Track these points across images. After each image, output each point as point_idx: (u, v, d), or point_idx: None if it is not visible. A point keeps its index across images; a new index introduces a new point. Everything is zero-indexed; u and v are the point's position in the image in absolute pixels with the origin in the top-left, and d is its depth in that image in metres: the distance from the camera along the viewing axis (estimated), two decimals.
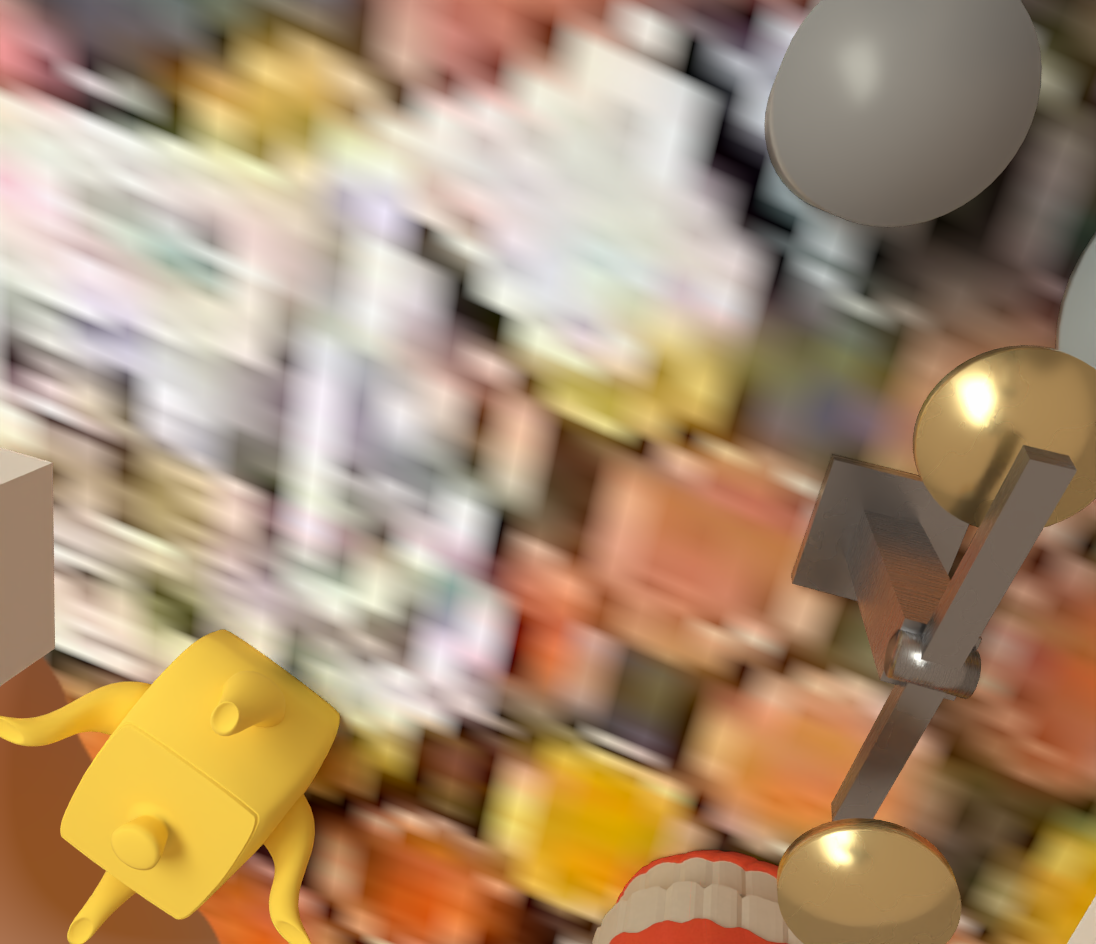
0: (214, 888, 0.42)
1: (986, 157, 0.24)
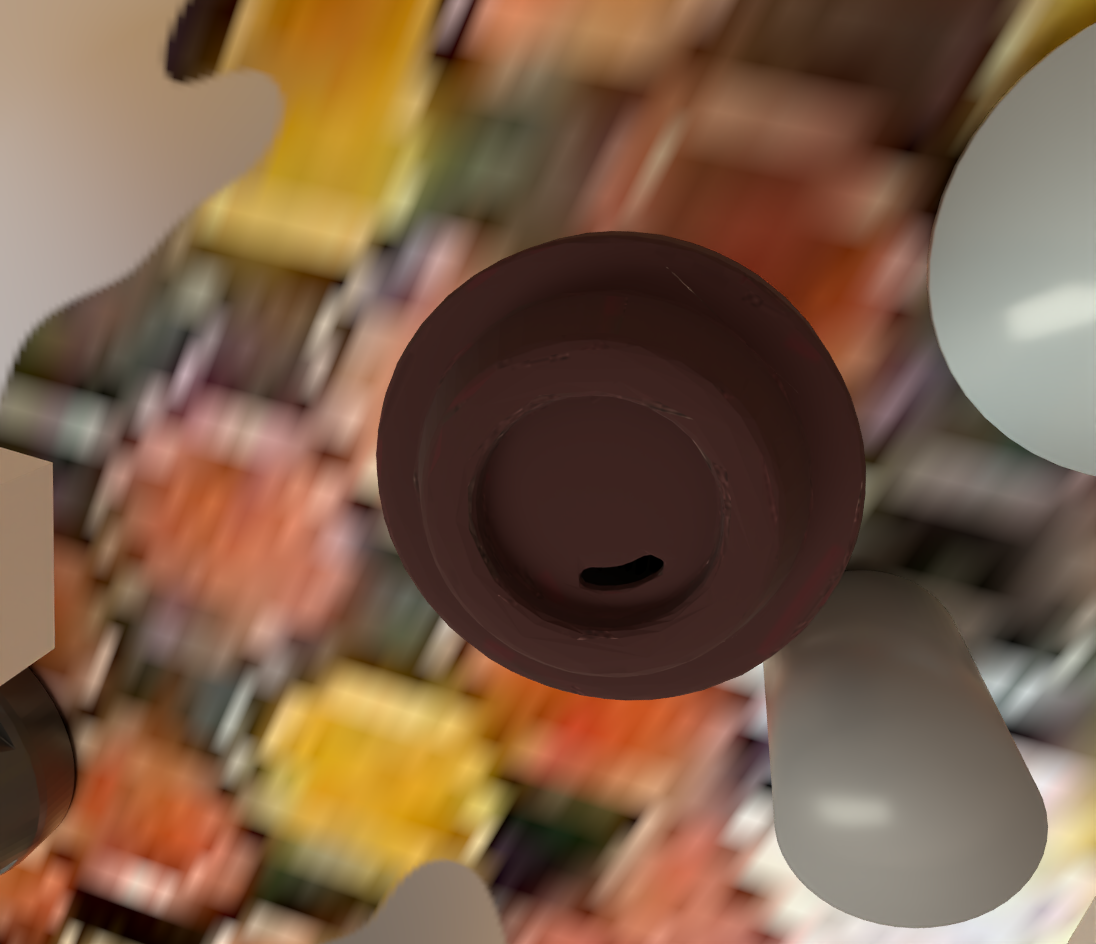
0: None
1: (984, 762, 0.22)
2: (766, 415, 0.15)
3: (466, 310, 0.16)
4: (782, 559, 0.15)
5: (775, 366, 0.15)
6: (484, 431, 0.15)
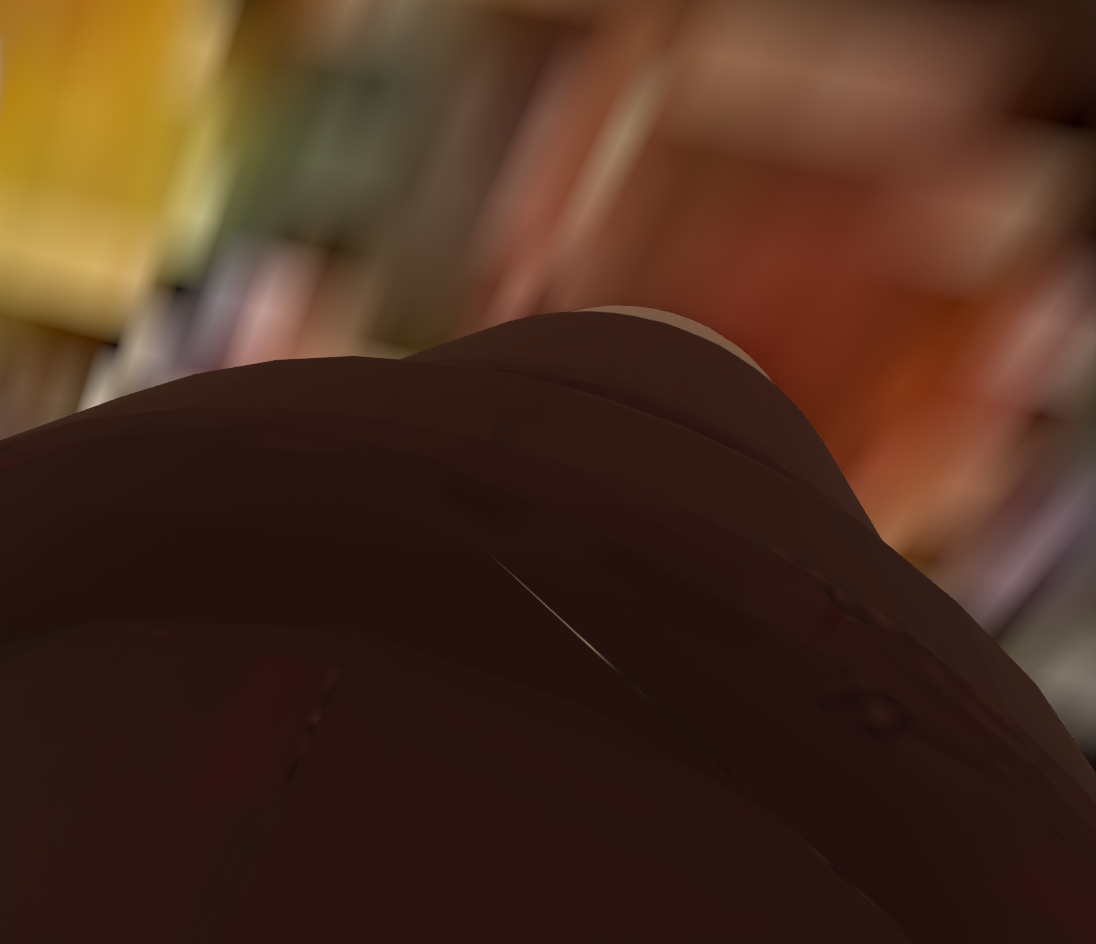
0: None
1: None
2: None
3: None
4: None
5: None
6: None
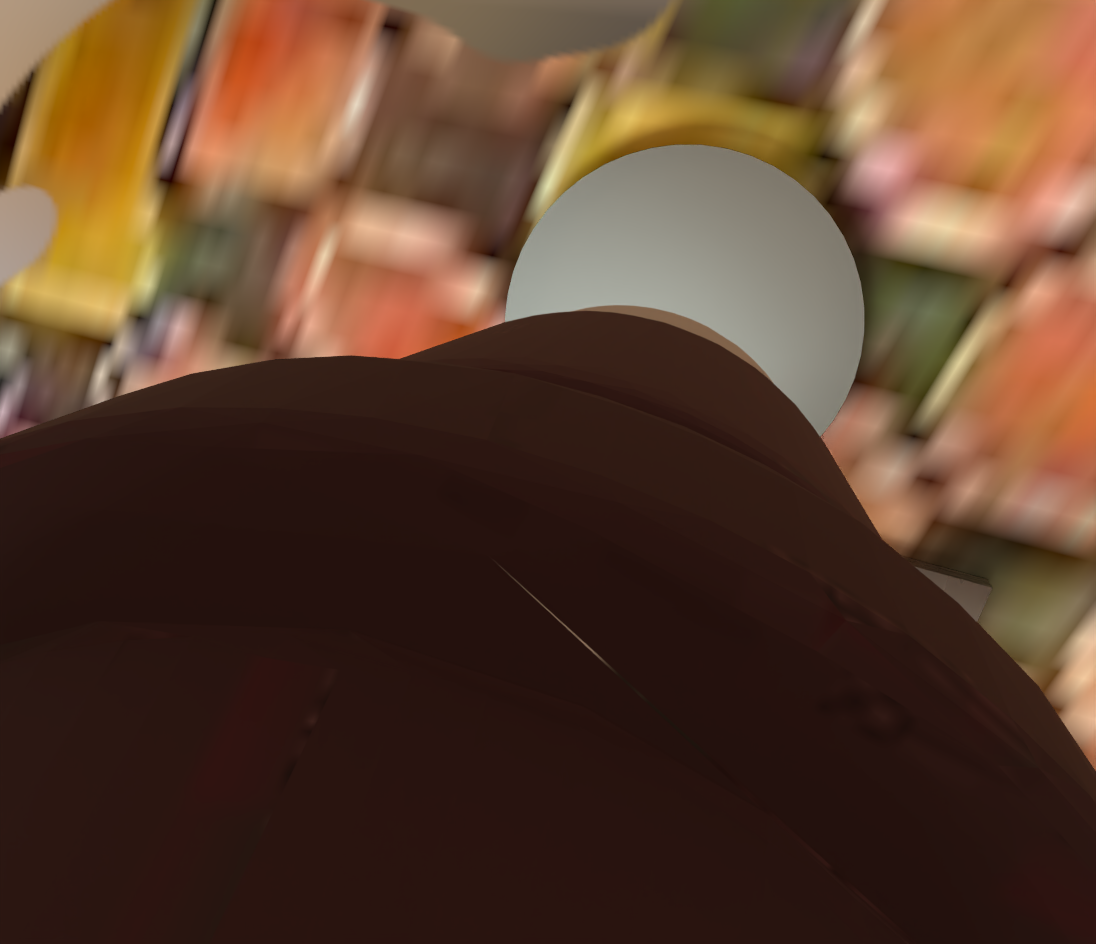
0: None
1: None
2: None
3: None
4: None
5: None
6: None
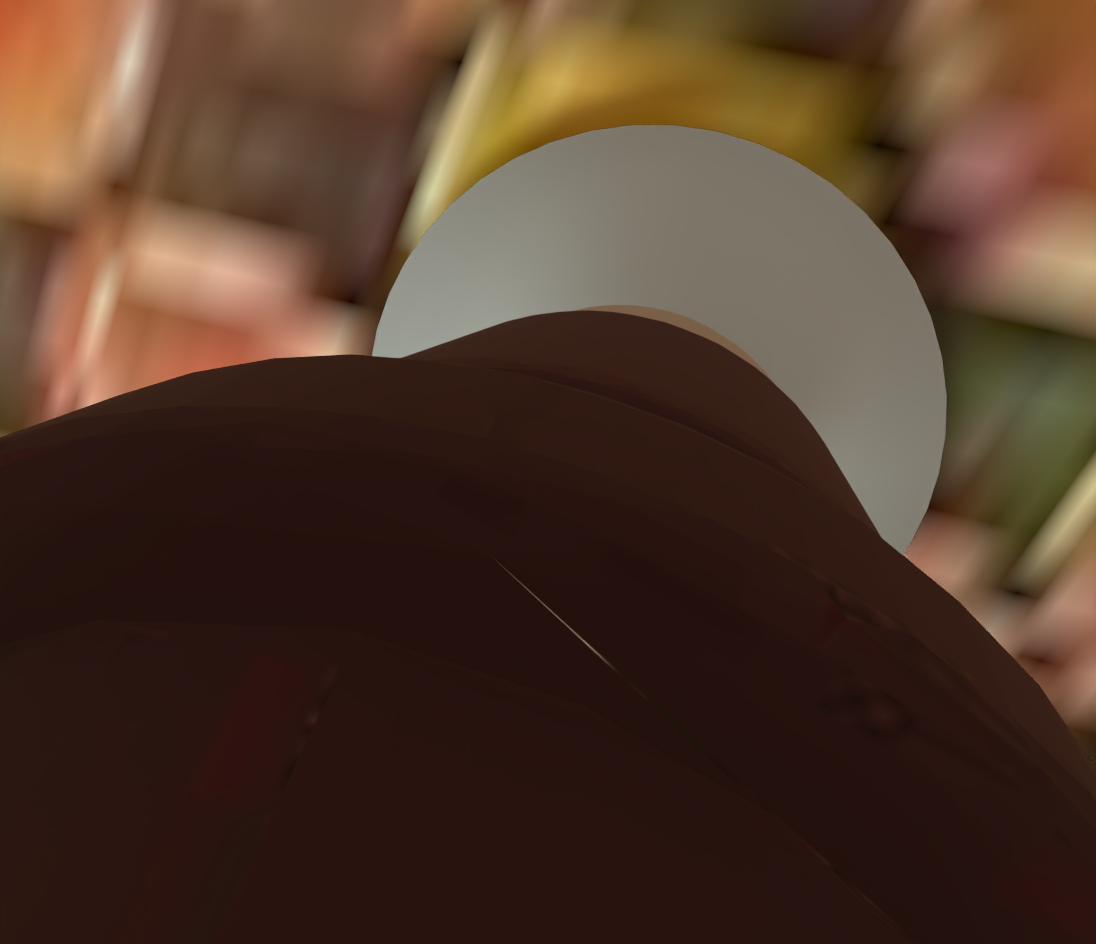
0: None
1: None
2: None
3: None
4: None
5: None
6: None
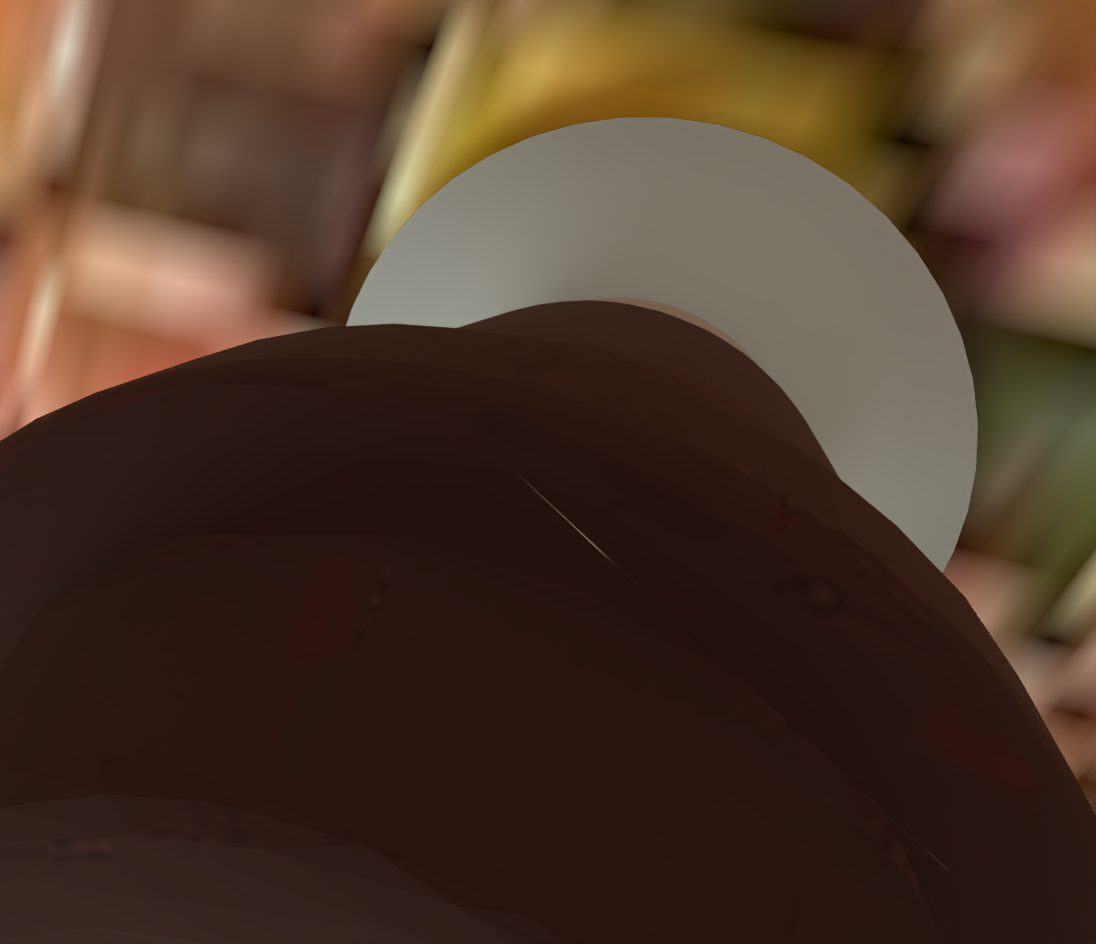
0: None
1: None
2: None
3: None
4: None
5: (883, 799, 0.05)
6: None
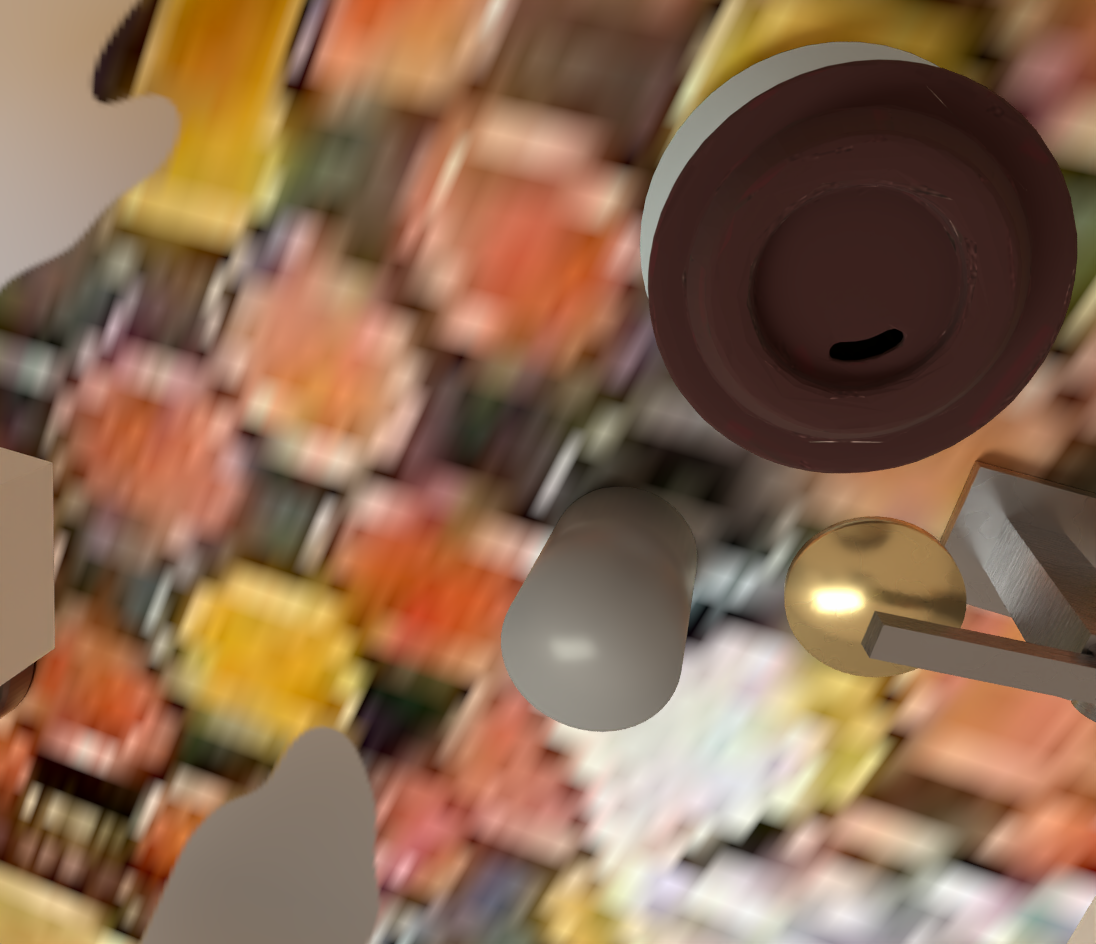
0: None
1: (634, 602, 0.31)
2: (1008, 201, 0.18)
3: (746, 126, 0.20)
4: (1011, 325, 0.19)
5: (1010, 168, 0.19)
6: (771, 216, 0.19)
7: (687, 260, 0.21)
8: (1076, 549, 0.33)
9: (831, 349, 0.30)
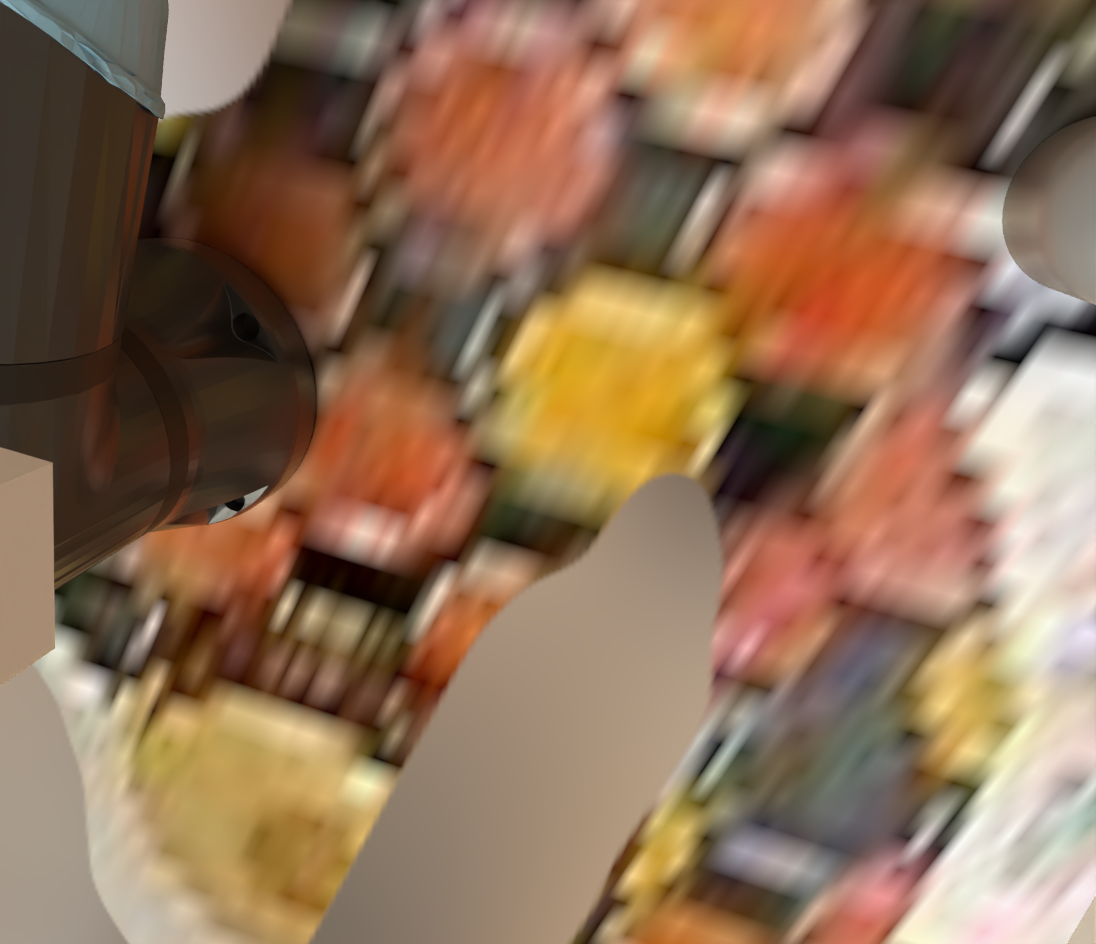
0: None
1: None
2: None
3: None
4: None
5: None
6: None
7: None
8: None
9: None
